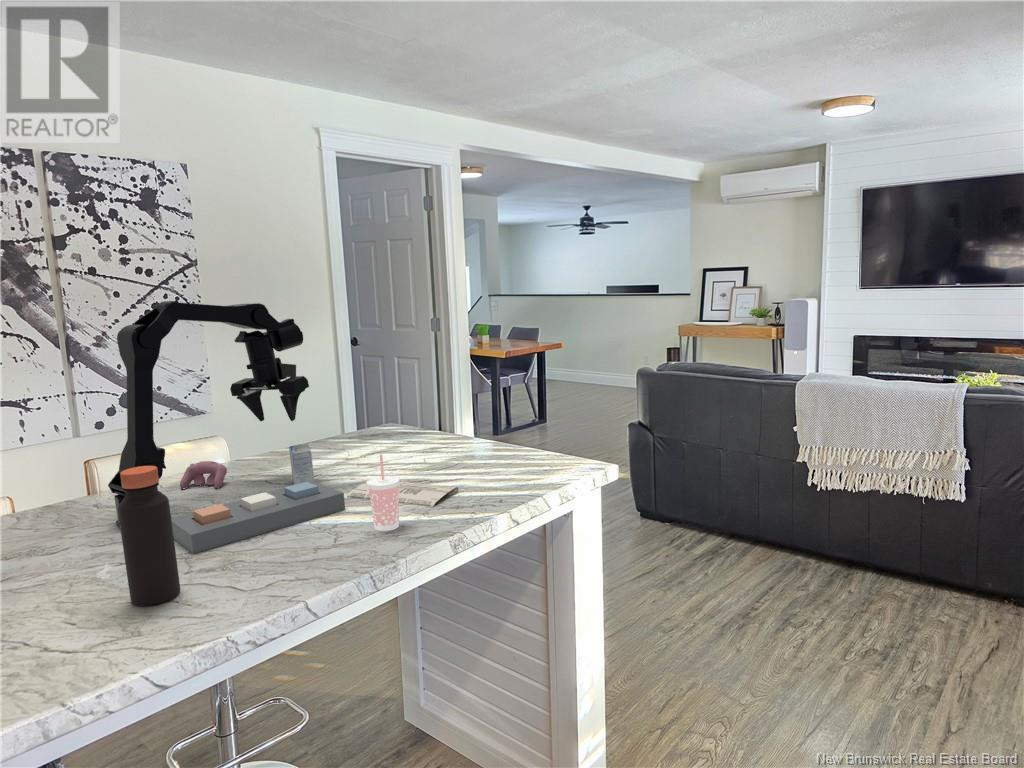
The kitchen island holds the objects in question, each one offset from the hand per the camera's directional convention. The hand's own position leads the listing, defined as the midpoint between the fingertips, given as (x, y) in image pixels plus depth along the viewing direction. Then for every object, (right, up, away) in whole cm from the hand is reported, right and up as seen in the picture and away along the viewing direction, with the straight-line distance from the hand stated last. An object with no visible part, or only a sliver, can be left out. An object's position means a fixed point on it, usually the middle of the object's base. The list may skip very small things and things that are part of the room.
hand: (277, 420), depth 164 cm
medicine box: (+7, -15, -2) cm, 16 cm away
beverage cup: (+32, -18, -33) cm, 50 cm away
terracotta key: (-1, -18, -34) cm, 38 cm away
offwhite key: (+6, -17, -28) cm, 33 cm away
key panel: (+6, -19, -27) cm, 33 cm away
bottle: (+1, -24, -58) cm, 63 cm away
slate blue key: (+12, -15, -21) cm, 29 cm away
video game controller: (-17, -16, 0) cm, 23 cm away
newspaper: (+32, -16, -13) cm, 38 cm away
